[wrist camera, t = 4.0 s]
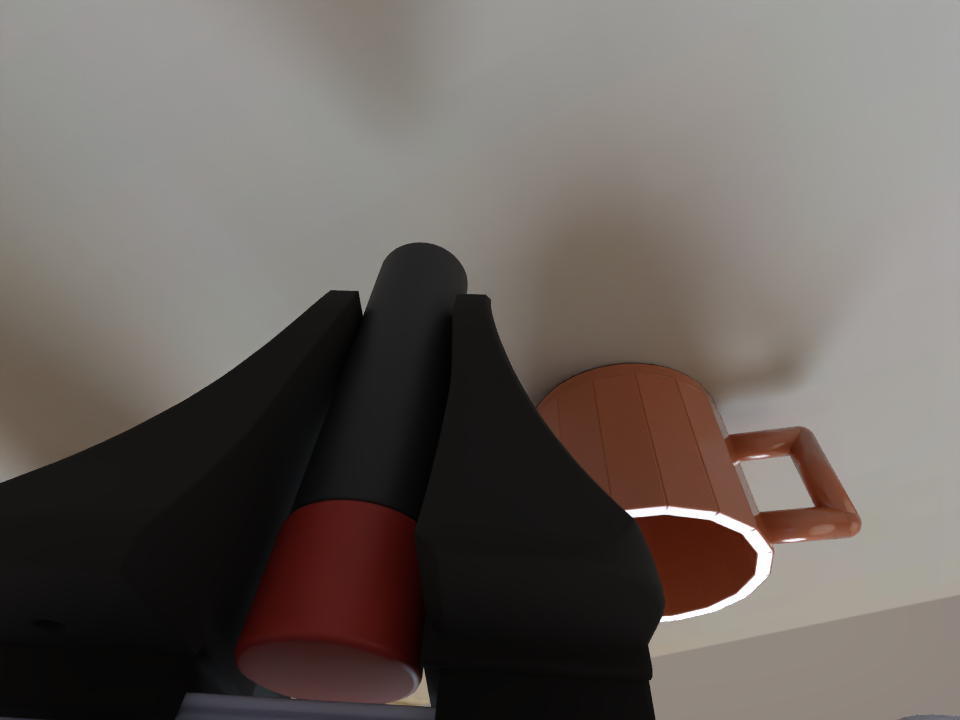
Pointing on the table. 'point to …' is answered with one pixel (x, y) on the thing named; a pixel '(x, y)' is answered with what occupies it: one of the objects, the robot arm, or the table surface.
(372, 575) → the marker
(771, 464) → the table surface
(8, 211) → the table surface
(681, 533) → the orange coffee mug
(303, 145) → the table surface
